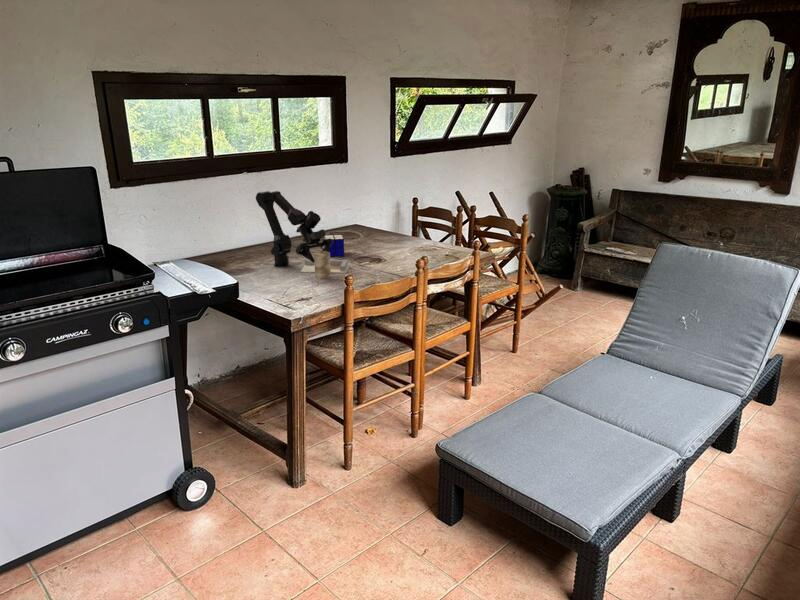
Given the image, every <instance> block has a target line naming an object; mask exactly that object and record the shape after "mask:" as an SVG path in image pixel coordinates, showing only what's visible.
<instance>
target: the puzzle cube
mask: <svg viewBox="0 0 800 600" xmlns="http://www.w3.org/2000/svg"><path fill="white" fill-rule="evenodd" d="M328 238H330V239H331V240H332V241H333V243H332V244H331V246H330V247H329V250H330V258H336V257H335V256H342V257H345V239H344V236H343V235H342V234H340V235H337V234H336V235H335V234H334V235H325V236H324V237H323V240H324V239H328Z"/></svg>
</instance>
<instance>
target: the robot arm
mask: <svg viewBox="0 0 800 600" xmlns="http://www.w3.org/2000/svg"><path fill="white" fill-rule="evenodd" d="M255 202H256V203H257V204H258V207H260V208H261V209H262V210H263V211H264V213H265V216H266V219H267V221H268V225H269V227H270V229H271V231H272V235H273V241H272V242H273V247H272V248H271V250H270V253H271V255H273V257H274V264H273V267H284V268H285V267H288V265H290V257H289V255H288V254H289V253H290V252H291V248H292V246H293V244H292V240H291V238H290V236H289V234H285V233H284V230H283V229H282V226H281V223H280V220H279V218H278V216H277V215H278V214H277V213H276V210H275V208H274V204H276V206H278V207H279V208H280V209H281V210H282V211H283V212H284V213H285V214H286V216H287V220H288V221H289V223H290V224H291V225H292V226H297V228H296V231H295V232H296V233H300V235H301V237H302V243H301V242H300V243H298V244H297V246H296V248H295V252H296V254H297V255H299V256H302V257H304V258H305V259H307V260H310V261H312V262H313V263H314V262H315V261H314V256H313V255H312V253H311V251H310V250H311V249H316V248H320V249H321V250H322V251H326V252H329V253H330V250H329V247H330V246H331V244H332V243H333V241H332V240H331V239H330V238H328V239H324V236H327V235H326V231H325V230H324V229H319V230H318V231H313V229H315V228H316V226H317V225H318V224H319V223H320V222H321V216H320V215H319V214H318V213H316V212H314V211H313V210H310V211H308V213H307V214H305V213H304V212H303V211H302V210H300V209H297V208H295V207H294V206H293V205H292V204H291V203H290V202H289V200H287V199H286V198H285V196H283V195H282V194H281V192H280V191H279V190H277V191H269V190H267V191H259V192H257V193H256V196H255ZM298 225H299V226H298ZM321 239H323V240H322V241H321ZM322 251H321V252H322Z"/></svg>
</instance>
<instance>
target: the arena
mask: <svg viewBox="0 0 800 600" xmlns="http://www.w3.org/2000/svg"><path fill="white" fill-rule="evenodd" d="M350 267H351V266H350V265H348V259H330V271H331V274H348V270H349V269H350ZM299 272H300V273H305V272H315V262H314V263H313V262H312V261H310V260H309V259H307V258H305V259H304V265H303V267H302V268H301V270H300V271H299Z"/></svg>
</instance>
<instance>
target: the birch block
mask: <svg viewBox="0 0 800 600" xmlns="http://www.w3.org/2000/svg"><path fill="white" fill-rule="evenodd" d="M313 253H314V254H313V255H314V256H313V258H314V261H315V273H314V276H315V277H314V278H316V277H317V279H319V278H320V280H322V279H321V278H323V279H326V278H325V277H327V278H331V277H332V275H331V274H332V273H331V271H330V260H331V257H330V253H329V252H326V251H318V252H313ZM330 276H331V277H330Z"/></svg>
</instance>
